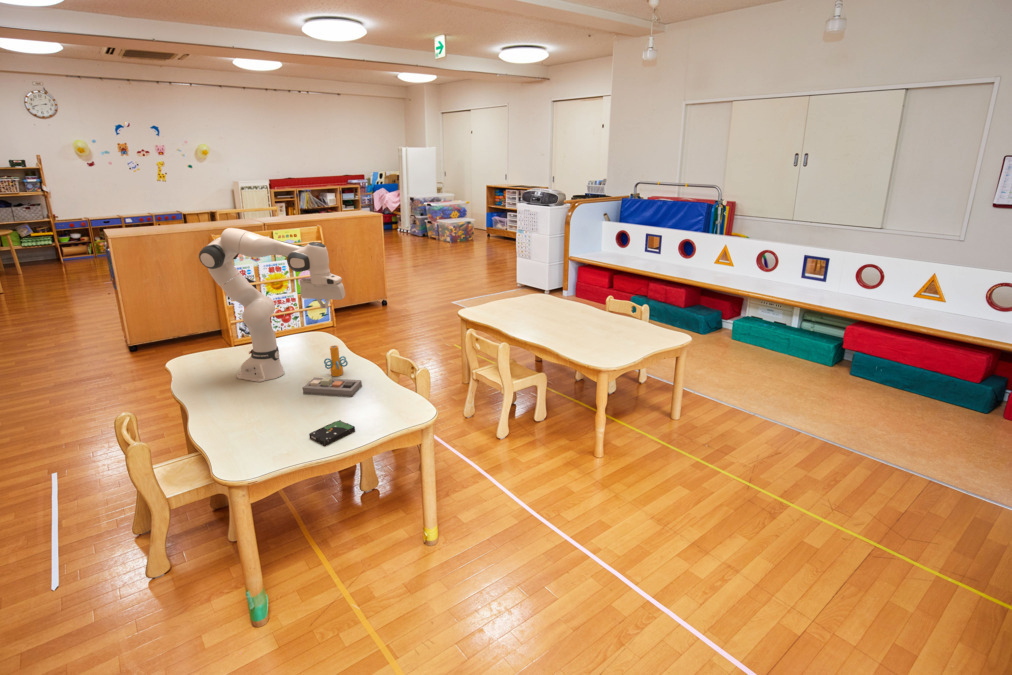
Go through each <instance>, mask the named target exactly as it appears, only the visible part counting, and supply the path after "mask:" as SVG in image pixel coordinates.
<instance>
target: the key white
mask: <svg viewBox="0 0 1012 675" xmlns="http://www.w3.org/2000/svg"><path fill="white" fill-rule="evenodd" d="M320 383H321V380H313V381H312V382H311V383H310V386H318V385H319V384H320Z"/></svg>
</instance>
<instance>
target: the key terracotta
mask: <svg viewBox="0 0 1012 675" xmlns="http://www.w3.org/2000/svg"><path fill="white" fill-rule="evenodd" d="M342 384H343V381H335V382H334V383H333V384H332V387H336V388H339V387H340V386H341V385H342Z"/></svg>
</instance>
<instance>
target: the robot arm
mask: <svg viewBox="0 0 1012 675" xmlns="http://www.w3.org/2000/svg"><path fill="white" fill-rule="evenodd" d="M239 255H242V256H245V257H248V258H255V259H256V258H257V259H258V258H264V257H269V256H283V257H286V263H287V266H288V268H289V269H290V270H291V271H292V272H296V273H300V272H301V273H303V272H306V271H308V272H309V277H308V278H306V277H303V278H301V279H300V280H299V286H300V290H299V291H300V292H299V293H300V297H301V298H302V299H306V300H307V299H309V300H311V299H313V300H316V301H317V303H318V304H319V306H320V308H321V309H328V308H329V303H330V300H335V301H336V300H337V301H341V300H343V299H344V298H345V297H346V290H345V287H344V284H343V282H342V280H343V278H342V277H341V276H339V275H337V274H333V273H331V269H330V257H329V252H328V248H327V246H326V245H325V244H324V243H322V242H318V241H316V242H315V241H312V242H309V243H307V244H306V245H298V244H294V243H290V242H287V241H281V240H279V239H274V238H271V237H268V236H265V235H262V234H258V233H255V232H253V231H249V230H245V229H242V228H241V229H240V228H236V227H228V228H225V229H224V230H223V231H222V233H221V234H220V237H217V238H215V239H213V240H212V241H211V242H210V243H208V244H207V245H205V246H204V247H202V248H201V250H200V251H199V253H198V259H199V262H200V263H201V264H202V265H203V266H204V267H205V268H208V269H207V271H208V272H209V275H210V276H211V277H212V279H213V280H214V282H215V283H216V284H217V285H218V286H219V287H220V288H221V289H222V291H223V292H224V293H225V294H226V295H227V296H228V298H230V299H231V300H232V301H234V302H237V303H238V304H240V305H241V306H243V307H244V310H243V313H242V317H241V318H242V321H243V322H244V324H245V325H246V328H247V330H248V331H249V332H248V333H249V336H250V339H251V344H252V349H251V350H249V351H248V355H250V354H251V355H250V357H249V358H247V359H245V361H244V362H243V363H242V364H241V366H240V372H238V373H237V375H236V379H239V380H245V381H252V382H258V383H262V382H266V381H268V380H269V381H270V380H274V379H277V378H279V377H282V376H283V375H284V374H285V370H284V368H283V366H282V362H281V360H280V350H279V346H278V345H277V344H278V342H277V338H276V333H275V330H274V328H273V326H272V324H271V317H272V315H273V314H274V313H275V307H276V304H275V301H274V300H273V299H272V298H271V297H269V296H266V295H265V294H264V293H262V292H260V291H259V290H258V289H257V288H256V287H255V286H254V285H252V284H251V283H250V282H249V281H248V280H247V278H245V277H244V275H243V274H242V273H241V272H240V271H239V270H238V269H237V268H236V267H235V265H234V264H233V260H237V259H238V257H239ZM323 300H324V303H323Z"/></svg>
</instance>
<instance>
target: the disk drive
mask: <svg viewBox="0 0 1012 675" xmlns="http://www.w3.org/2000/svg"><path fill="white" fill-rule="evenodd" d="M352 432H353V433H354V432H356V428H355V426H354V425H352V424H350V423H348V422H346V421H342V420H341V419H339V420H337V421H334V422H331V423H329V424H328V425H324V426H322V427H320V428H318V429H317V430H314V431H311V432H310V433H308V436H309V440H312V441H314V442H316V443H318V444H319V445H322V446H323V447H326V445H327V446H329V445H331V444H332V443H334V442H337V441H338V440H341V439H343V438H344V437H347V436H348V435H350V434H353V433H352Z"/></svg>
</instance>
